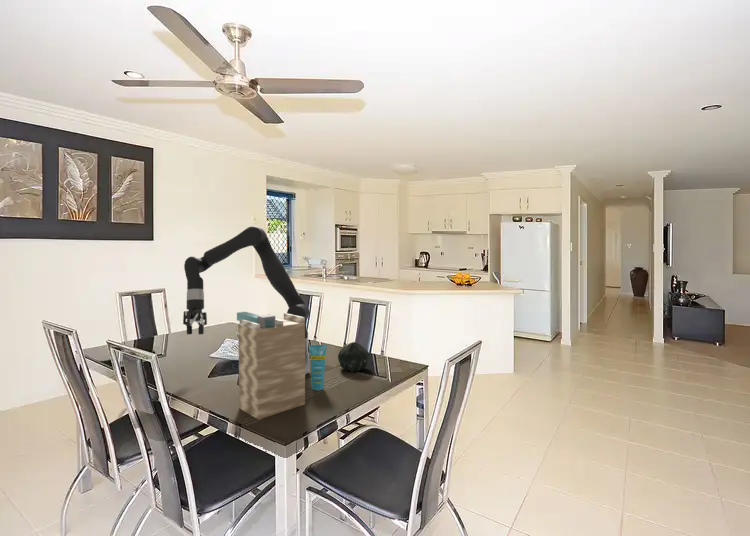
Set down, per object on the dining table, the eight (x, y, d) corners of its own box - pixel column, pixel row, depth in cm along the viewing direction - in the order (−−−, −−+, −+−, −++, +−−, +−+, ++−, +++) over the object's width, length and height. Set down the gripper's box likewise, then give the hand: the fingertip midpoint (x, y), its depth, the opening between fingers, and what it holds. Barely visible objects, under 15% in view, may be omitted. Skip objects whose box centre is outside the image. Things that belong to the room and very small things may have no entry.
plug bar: (235, 320, 161) (234, 310, 161) (246, 318, 165) (246, 308, 164) (263, 328, 146) (262, 317, 146) (275, 326, 150) (275, 315, 150)
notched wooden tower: (239, 408, 156) (238, 319, 153) (284, 394, 170) (284, 312, 168) (258, 419, 146) (257, 324, 144) (305, 404, 160) (304, 317, 158)
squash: (352, 351, 216) (342, 334, 206) (376, 357, 208) (367, 339, 199) (339, 374, 207) (328, 357, 198) (365, 381, 200) (354, 364, 190)
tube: (309, 391, 174) (309, 346, 172) (308, 387, 178) (308, 343, 177) (327, 390, 175) (327, 345, 174) (326, 386, 180) (326, 342, 179)
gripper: (193, 297, 186) (193, 333, 183) (211, 299, 199) (211, 333, 197) (178, 298, 187) (177, 335, 184) (197, 301, 201) (197, 334, 198)
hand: (195, 334), depth 190 cm, fingers open, 8 cm apart
